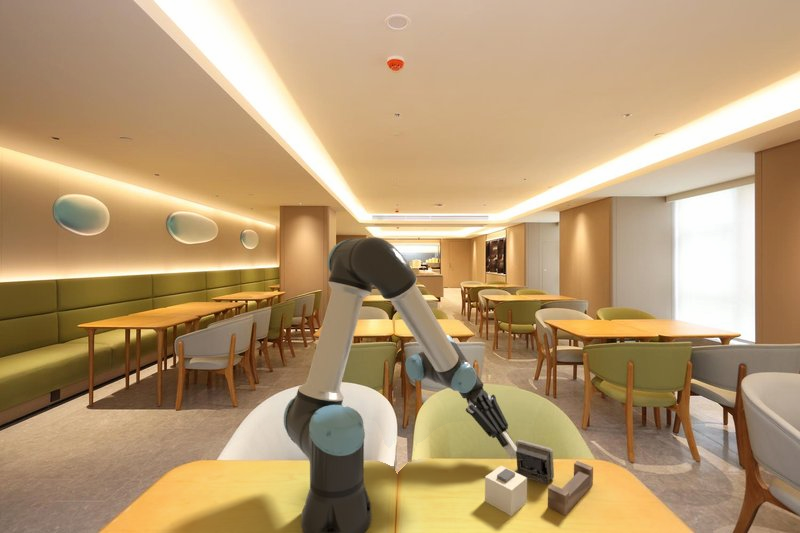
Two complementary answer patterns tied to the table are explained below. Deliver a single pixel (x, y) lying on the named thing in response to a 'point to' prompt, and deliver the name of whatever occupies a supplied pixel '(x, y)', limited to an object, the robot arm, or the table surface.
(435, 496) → the table surface
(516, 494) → the socket block
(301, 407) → the robot arm
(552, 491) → the bracket
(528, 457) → the electrical switch
